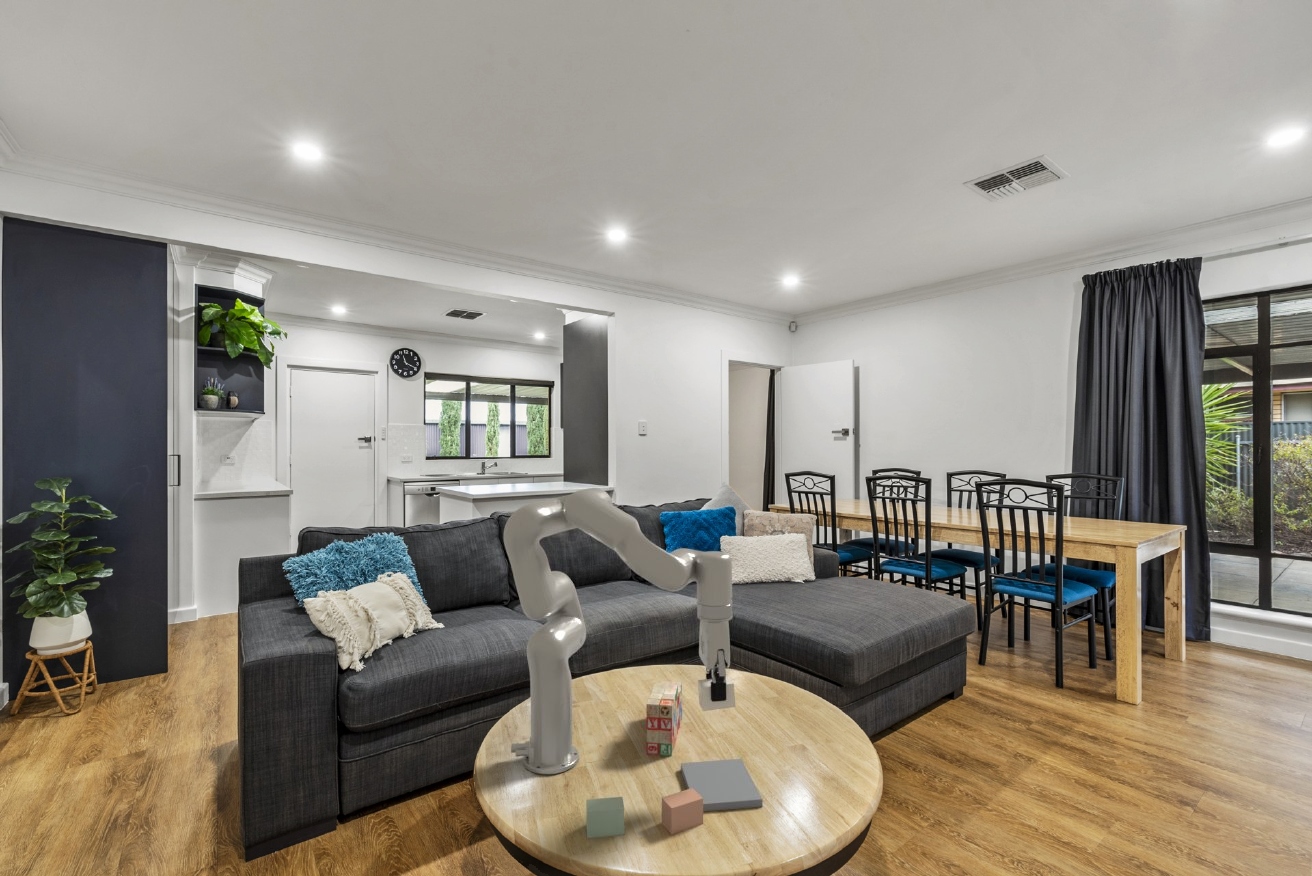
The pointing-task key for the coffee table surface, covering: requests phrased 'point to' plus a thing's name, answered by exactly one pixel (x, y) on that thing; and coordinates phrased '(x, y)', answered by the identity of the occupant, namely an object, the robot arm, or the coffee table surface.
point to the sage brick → (605, 817)
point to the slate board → (722, 784)
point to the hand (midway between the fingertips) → (716, 695)
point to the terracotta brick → (682, 810)
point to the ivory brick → (705, 695)
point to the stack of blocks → (663, 718)
